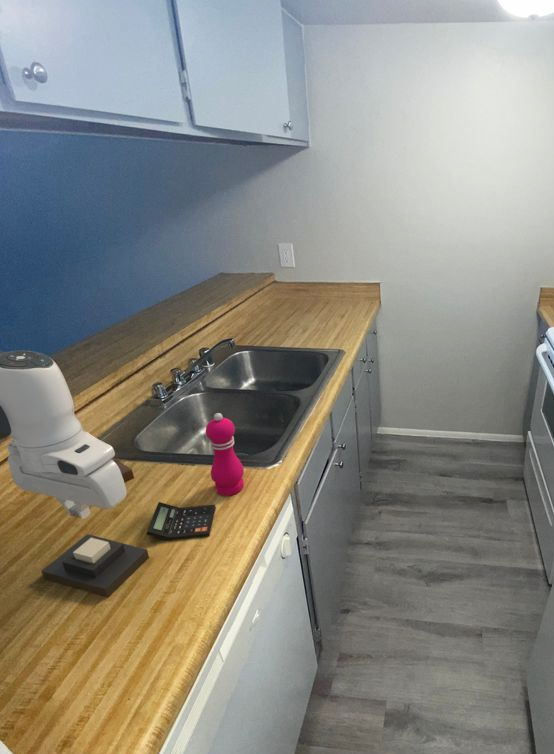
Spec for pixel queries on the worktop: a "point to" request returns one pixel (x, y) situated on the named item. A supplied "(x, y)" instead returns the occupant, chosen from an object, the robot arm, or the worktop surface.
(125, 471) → the key block
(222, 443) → the pepper mill
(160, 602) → the worktop surface
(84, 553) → the near key
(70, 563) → the key block
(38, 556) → the worktop surface
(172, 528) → the calculator
